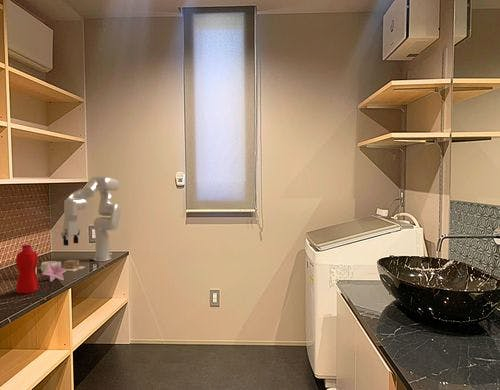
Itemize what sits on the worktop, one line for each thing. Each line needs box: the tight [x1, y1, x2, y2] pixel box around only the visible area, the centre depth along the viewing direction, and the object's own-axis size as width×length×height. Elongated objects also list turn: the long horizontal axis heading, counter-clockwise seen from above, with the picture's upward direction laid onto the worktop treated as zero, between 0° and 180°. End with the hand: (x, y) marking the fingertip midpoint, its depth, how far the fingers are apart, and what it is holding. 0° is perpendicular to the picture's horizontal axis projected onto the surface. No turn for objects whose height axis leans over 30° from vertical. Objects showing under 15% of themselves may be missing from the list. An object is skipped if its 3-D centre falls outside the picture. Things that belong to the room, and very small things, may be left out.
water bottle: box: [15, 244, 39, 295], centre depth 211 cm, size 9×11×25 cm
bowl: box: [40, 260, 58, 273], centre depth 257 cm, size 9×9×6 cm
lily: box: [42, 261, 68, 282], centre depth 237 cm, size 12×12×10 cm
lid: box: [61, 259, 86, 272], centre depth 260 cm, size 12×12×5 cm
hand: (71, 244), depth 260 cm, fingers open, 9 cm apart
